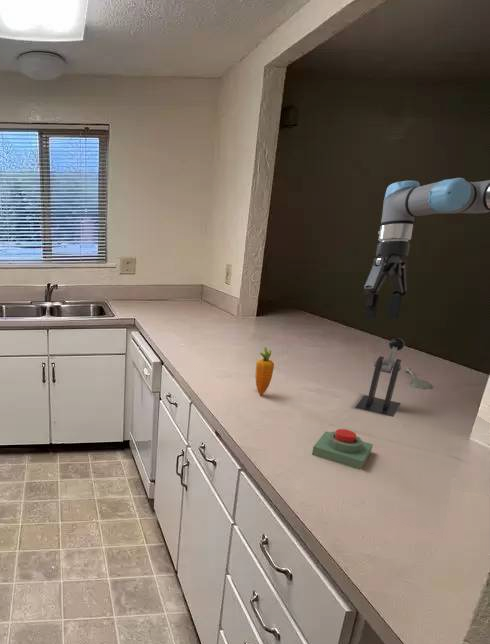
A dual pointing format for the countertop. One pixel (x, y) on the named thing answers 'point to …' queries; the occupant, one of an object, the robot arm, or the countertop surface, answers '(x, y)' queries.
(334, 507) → the countertop surface
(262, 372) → the carrot
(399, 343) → the grey swinging pendulum
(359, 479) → the countertop surface
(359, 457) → the button box
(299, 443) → the countertop surface
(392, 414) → the twin-post stand
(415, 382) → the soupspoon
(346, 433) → the button
